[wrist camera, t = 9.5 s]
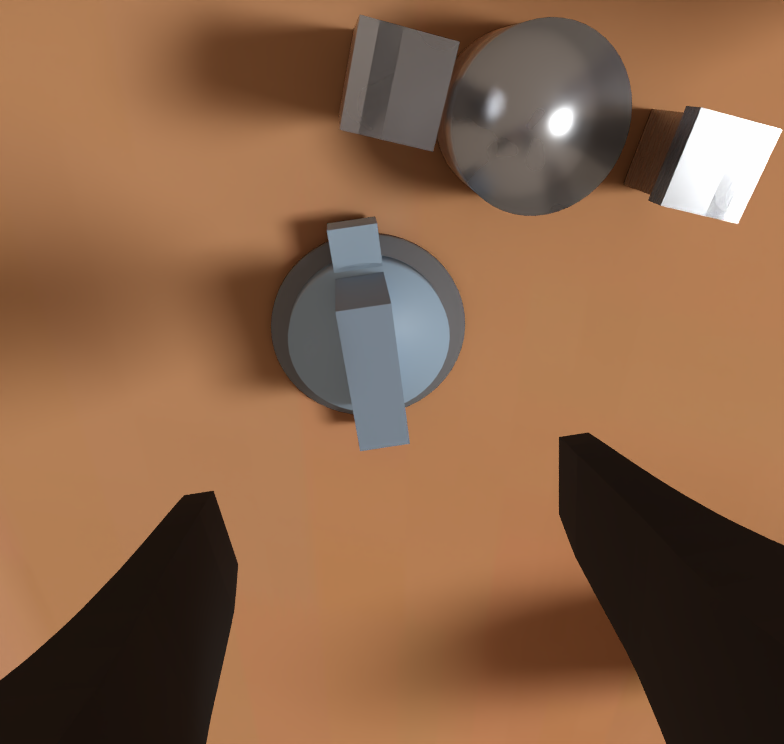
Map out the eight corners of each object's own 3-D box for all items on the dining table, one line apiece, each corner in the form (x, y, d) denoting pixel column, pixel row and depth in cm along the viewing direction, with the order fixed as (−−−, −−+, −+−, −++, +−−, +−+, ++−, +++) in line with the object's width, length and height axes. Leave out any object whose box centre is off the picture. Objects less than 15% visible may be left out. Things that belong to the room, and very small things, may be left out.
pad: (486, 255, 21) (488, 257, 21) (436, 422, 24) (437, 426, 24) (287, 213, 20) (286, 215, 19) (260, 395, 23) (259, 399, 22)
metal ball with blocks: (697, 72, 19) (809, 72, 14) (634, 228, 21) (715, 270, 16) (362, -23, 17) (372, -56, 12) (331, 158, 19) (329, 185, 15)
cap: (453, 413, 23) (474, 474, 20) (311, 434, 23) (307, 499, 20) (434, 207, 20) (456, 237, 16) (267, 232, 20) (252, 267, 16)
